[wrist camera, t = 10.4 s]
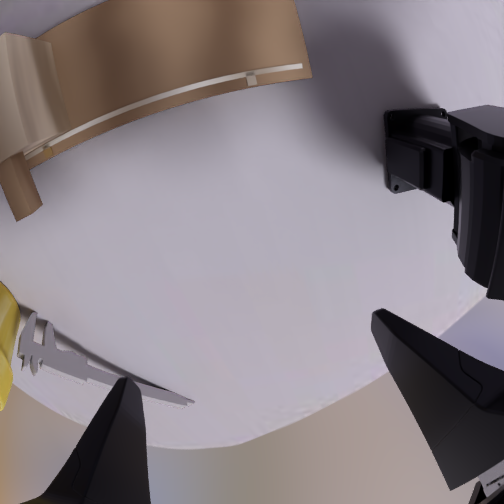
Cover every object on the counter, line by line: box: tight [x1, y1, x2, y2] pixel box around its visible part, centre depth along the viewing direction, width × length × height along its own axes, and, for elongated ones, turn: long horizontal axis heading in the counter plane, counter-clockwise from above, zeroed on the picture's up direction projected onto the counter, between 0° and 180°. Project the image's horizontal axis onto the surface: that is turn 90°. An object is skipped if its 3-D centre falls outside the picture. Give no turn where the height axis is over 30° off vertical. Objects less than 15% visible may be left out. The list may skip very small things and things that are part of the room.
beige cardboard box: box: [0, 32, 72, 222], centre depth 10 cm, size 4×9×5 cm, turn 12°
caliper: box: [17, 312, 195, 409], centre depth 23 cm, size 20×1×6 cm, turn 42°
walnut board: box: [24, 0, 313, 170], centre depth 12 cm, size 20×8×2 cm, turn 102°
